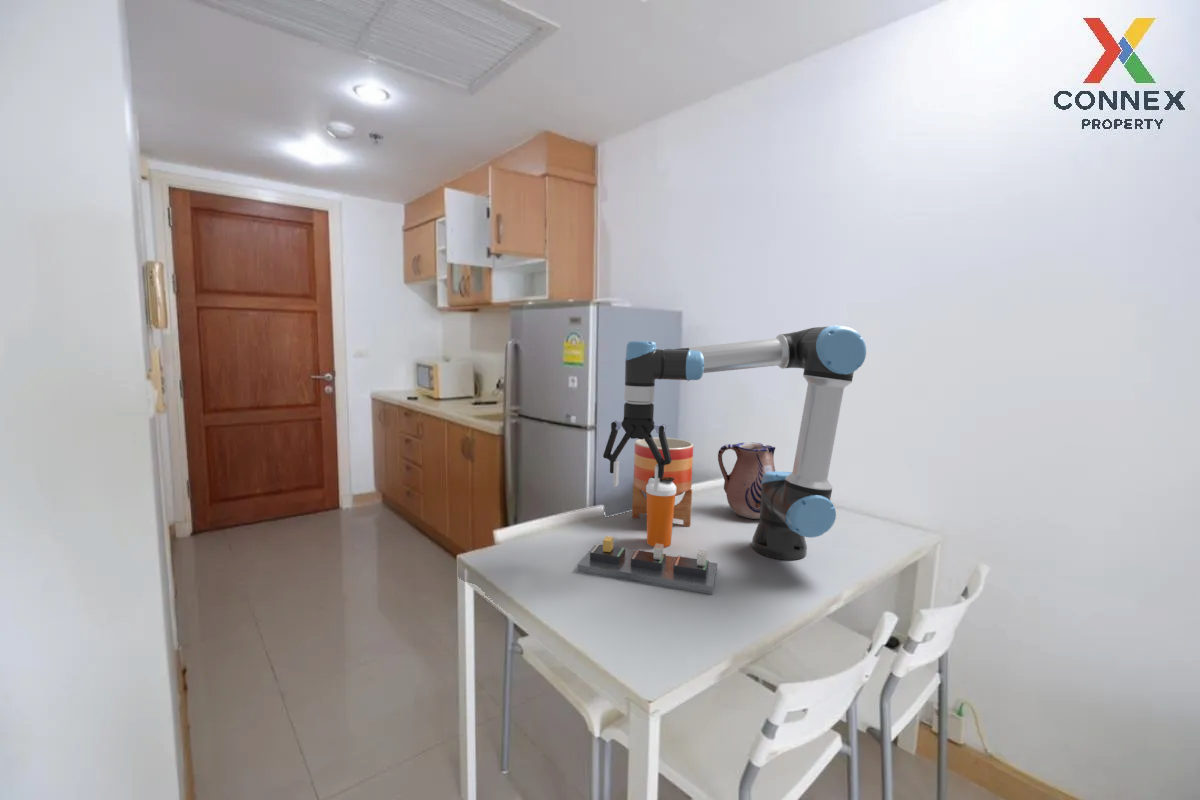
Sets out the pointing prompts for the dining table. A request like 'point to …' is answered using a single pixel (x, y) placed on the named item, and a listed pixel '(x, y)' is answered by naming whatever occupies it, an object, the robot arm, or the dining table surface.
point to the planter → (676, 469)
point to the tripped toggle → (608, 544)
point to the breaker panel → (650, 574)
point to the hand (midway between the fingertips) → (635, 487)
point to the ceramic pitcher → (747, 476)
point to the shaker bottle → (660, 511)
